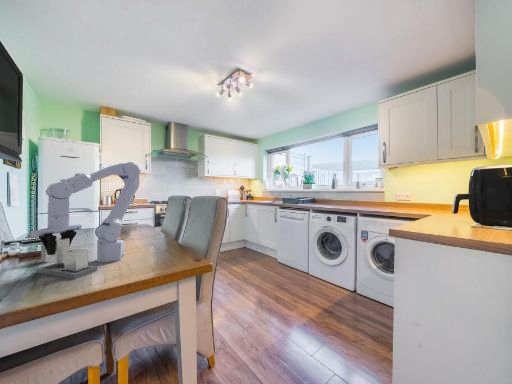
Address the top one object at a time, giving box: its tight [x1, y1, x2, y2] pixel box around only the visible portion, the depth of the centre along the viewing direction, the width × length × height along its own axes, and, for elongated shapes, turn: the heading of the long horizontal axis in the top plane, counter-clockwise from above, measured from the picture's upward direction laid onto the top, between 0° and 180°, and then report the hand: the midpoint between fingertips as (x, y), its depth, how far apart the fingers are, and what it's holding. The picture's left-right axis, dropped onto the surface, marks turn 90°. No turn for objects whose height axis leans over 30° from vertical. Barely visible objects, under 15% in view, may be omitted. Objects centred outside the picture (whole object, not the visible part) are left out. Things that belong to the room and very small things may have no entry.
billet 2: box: [64, 248, 89, 273], centre depth 74 cm, size 6×4×8 cm
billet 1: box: [45, 237, 70, 264], centre depth 76 cm, size 6×4×8 cm
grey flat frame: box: [35, 262, 98, 280], centre depth 75 cm, size 18×7×2 cm, turn 75°
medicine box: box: [40, 241, 47, 263], centre depth 92 cm, size 8×4×9 cm, turn 168°
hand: (58, 252), depth 76 cm, fingers closed on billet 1, 4 cm apart
